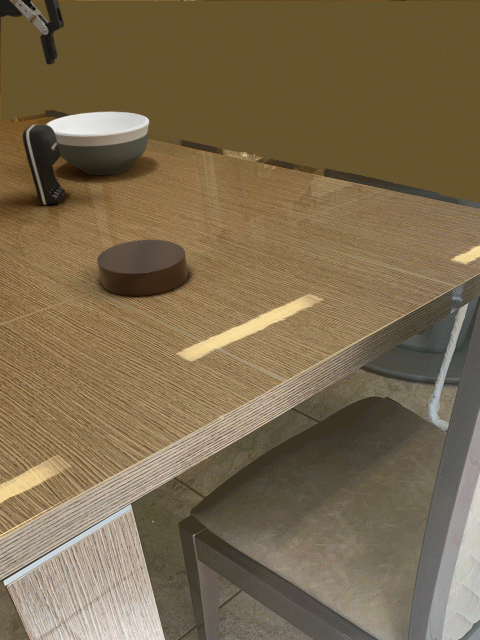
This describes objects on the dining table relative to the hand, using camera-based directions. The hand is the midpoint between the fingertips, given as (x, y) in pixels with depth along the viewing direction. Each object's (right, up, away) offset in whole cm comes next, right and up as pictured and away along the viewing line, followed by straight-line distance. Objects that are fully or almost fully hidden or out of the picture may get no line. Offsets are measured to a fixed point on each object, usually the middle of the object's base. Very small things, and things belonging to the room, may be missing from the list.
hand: (22, 64), depth 96 cm
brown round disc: (+22, -35, -13) cm, 43 cm away
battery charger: (0, -16, +13) cm, 20 cm away
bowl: (+4, -5, +27) cm, 28 cm away
